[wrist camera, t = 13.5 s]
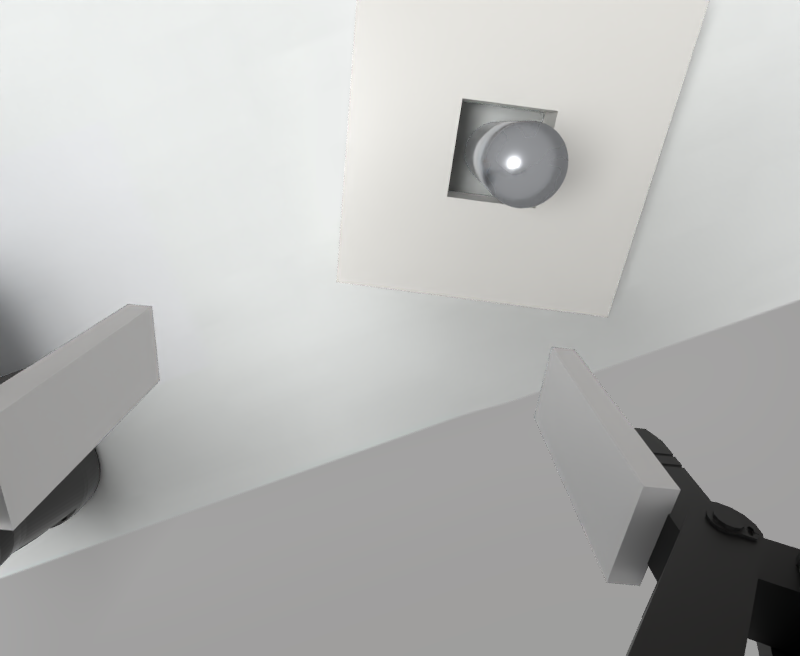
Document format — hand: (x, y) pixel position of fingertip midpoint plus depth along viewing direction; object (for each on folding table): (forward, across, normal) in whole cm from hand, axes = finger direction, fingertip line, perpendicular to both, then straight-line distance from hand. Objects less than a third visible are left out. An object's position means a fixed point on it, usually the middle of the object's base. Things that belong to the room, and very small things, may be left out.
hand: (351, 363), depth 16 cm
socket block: (+22, -7, -6) cm, 24 cm away
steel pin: (+22, -7, -6) cm, 24 cm away
